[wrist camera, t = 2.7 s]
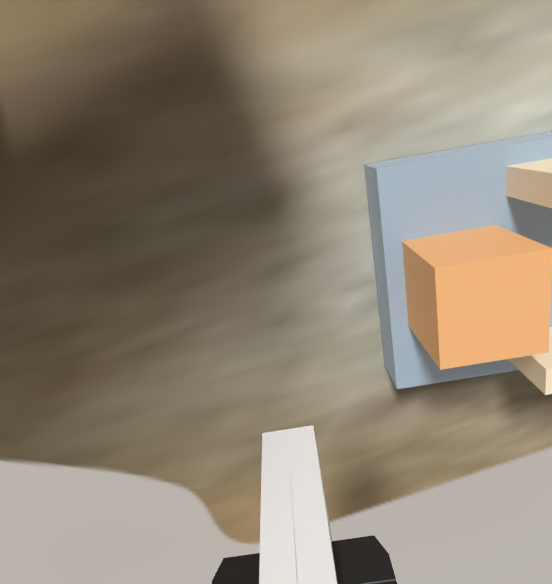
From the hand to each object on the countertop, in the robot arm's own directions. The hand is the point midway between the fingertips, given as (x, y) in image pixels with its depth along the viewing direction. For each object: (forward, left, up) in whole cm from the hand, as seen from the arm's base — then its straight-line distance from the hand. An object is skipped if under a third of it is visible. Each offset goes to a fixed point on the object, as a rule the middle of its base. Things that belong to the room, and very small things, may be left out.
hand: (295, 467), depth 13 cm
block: (+8, +5, -13) cm, 16 cm away
